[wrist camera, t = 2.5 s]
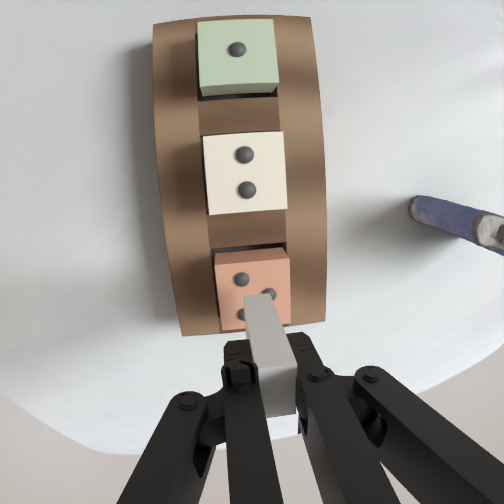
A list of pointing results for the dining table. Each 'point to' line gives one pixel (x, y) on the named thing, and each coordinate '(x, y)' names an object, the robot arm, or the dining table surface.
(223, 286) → the three-pip tile
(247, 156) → the tile
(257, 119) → the board
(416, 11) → the dining table surface
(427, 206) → the flask
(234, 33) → the tile
